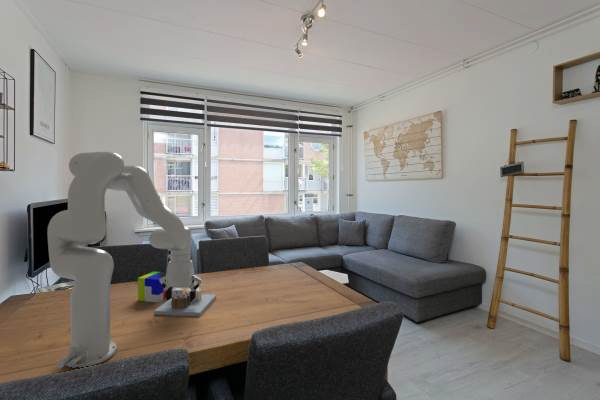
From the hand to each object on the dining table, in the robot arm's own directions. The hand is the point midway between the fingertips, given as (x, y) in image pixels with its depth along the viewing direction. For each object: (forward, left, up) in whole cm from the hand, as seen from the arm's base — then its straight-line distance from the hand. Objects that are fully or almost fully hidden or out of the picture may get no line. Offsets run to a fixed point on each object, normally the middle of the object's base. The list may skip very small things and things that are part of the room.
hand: (180, 299), depth 120 cm
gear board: (+4, -1, -4) cm, 6 cm away
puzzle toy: (+12, +17, -4) cm, 21 cm away
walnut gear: (0, 0, -3) cm, 3 cm away
